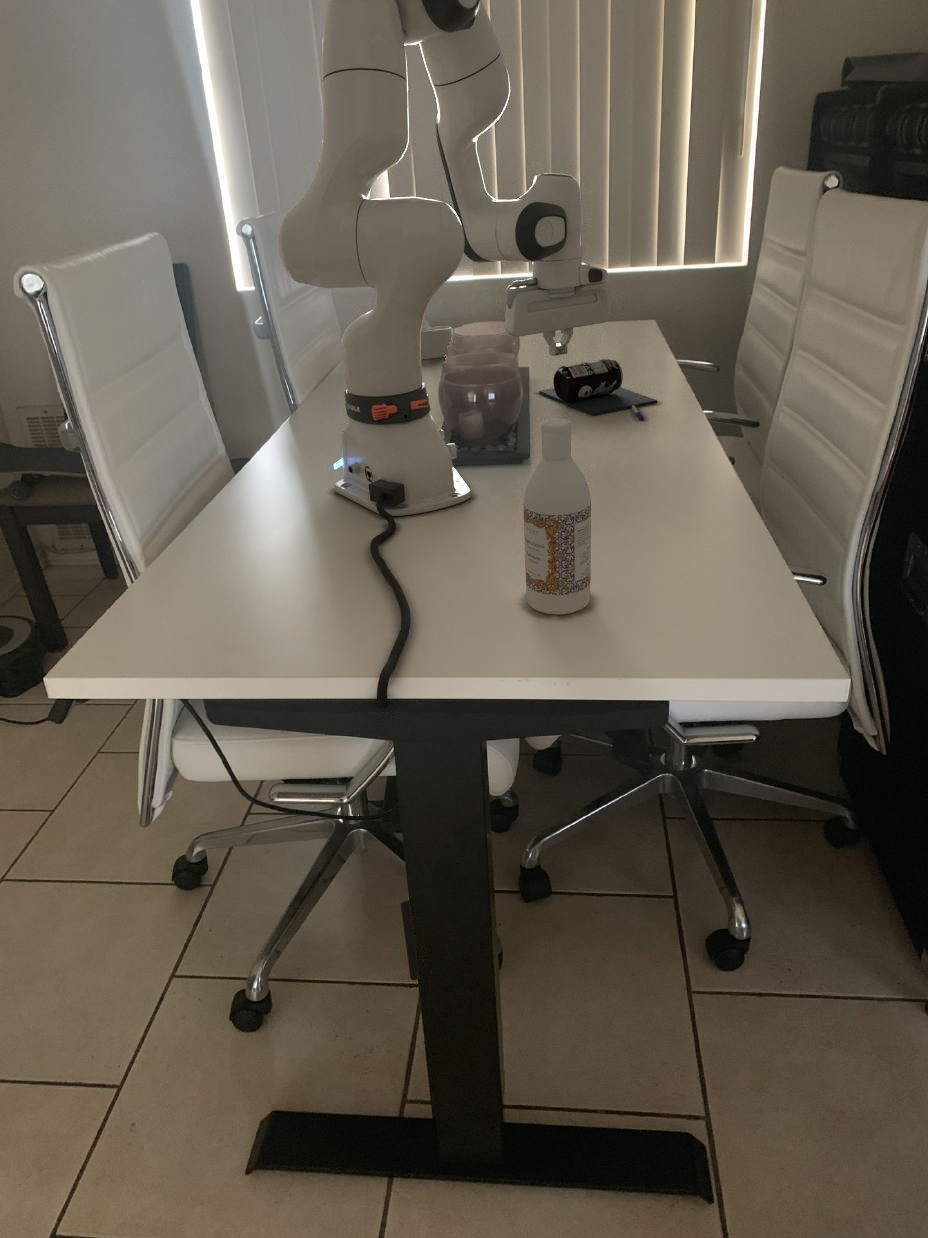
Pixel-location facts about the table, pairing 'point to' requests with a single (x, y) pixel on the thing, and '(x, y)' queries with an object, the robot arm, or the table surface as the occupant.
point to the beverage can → (587, 379)
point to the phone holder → (434, 340)
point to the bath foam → (557, 527)
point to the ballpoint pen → (638, 413)
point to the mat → (605, 401)
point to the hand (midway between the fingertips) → (558, 354)
